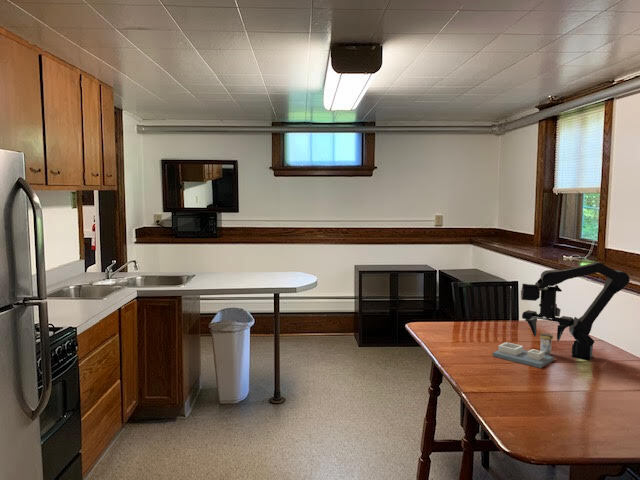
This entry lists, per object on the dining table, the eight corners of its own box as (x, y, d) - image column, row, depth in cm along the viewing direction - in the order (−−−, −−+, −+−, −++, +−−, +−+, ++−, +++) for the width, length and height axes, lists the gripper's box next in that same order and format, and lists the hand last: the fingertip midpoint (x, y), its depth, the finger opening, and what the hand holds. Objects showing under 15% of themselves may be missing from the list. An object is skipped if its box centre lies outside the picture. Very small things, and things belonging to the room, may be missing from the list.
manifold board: (553, 360, 189) (553, 350, 189) (540, 368, 180) (540, 357, 180) (506, 349, 203) (507, 340, 202) (492, 356, 194) (492, 346, 193)
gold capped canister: (554, 353, 197) (554, 335, 197) (549, 356, 194) (550, 337, 193) (541, 351, 201) (542, 332, 200) (536, 353, 198) (537, 334, 197)
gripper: (579, 302, 195) (577, 339, 196) (533, 295, 208) (531, 330, 209) (569, 306, 187) (567, 344, 188) (522, 299, 200) (520, 335, 201)
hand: (546, 338), depth 197 cm, fingers open, 9 cm apart
